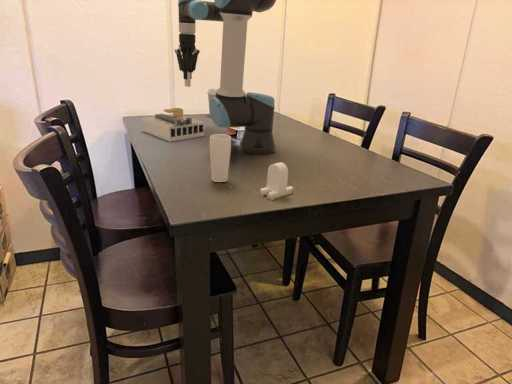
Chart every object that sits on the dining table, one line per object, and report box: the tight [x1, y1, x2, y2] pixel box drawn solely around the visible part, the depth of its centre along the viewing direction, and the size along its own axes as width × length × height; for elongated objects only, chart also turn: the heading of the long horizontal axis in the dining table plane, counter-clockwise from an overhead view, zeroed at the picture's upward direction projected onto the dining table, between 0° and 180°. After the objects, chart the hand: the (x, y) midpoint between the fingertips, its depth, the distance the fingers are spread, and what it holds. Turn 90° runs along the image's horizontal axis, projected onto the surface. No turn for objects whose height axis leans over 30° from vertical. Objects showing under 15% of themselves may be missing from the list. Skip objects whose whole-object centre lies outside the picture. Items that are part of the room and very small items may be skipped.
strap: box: [154, 113, 188, 125], centre depth 176 cm, size 21×4×2 cm, turn 45°
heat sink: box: [141, 113, 205, 143], centre depth 178 cm, size 22×19×9 cm
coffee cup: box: [206, 88, 219, 118], centre depth 219 cm, size 10×10×15 cm
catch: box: [163, 107, 184, 116], centre depth 185 cm, size 4×8×3 cm, turn 135°
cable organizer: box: [259, 161, 294, 197], centre depth 117 cm, size 5×10×10 cm, turn 133°
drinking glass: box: [209, 133, 232, 183], centre depth 124 cm, size 7×7×15 cm
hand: (187, 86), depth 186 cm, fingers closed
